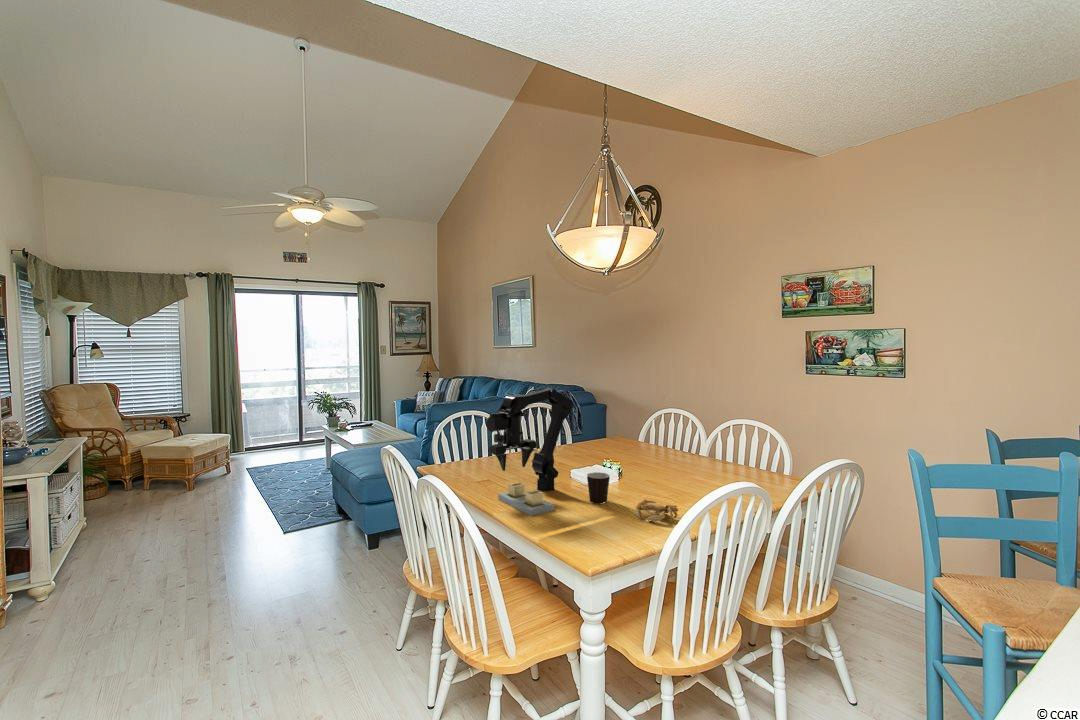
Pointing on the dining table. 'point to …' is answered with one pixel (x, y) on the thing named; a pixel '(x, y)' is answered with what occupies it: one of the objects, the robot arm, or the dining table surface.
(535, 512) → the grey slotted plate
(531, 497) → the block
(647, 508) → the crab model
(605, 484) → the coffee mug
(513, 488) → the block
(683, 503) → the dining table surface
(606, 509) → the dining table surface
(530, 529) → the dining table surface
